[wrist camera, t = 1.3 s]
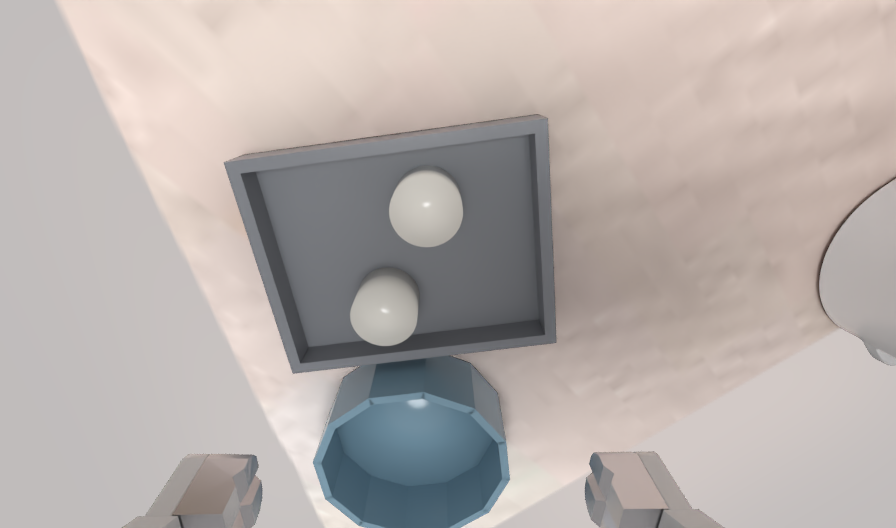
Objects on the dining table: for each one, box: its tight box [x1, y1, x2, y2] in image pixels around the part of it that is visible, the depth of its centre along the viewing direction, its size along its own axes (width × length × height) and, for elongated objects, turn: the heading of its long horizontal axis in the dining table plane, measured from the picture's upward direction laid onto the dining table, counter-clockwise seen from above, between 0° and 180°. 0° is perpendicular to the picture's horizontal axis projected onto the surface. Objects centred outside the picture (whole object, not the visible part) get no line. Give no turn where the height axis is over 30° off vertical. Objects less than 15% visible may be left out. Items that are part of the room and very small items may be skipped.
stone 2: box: [389, 165, 463, 247], centre depth 29 cm, size 5×5×3 cm
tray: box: [224, 114, 556, 374], centre depth 31 cm, size 20×16×3 cm
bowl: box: [313, 356, 510, 528], centre depth 36 cm, size 15×15×6 cm
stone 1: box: [350, 267, 420, 346], centre depth 32 cm, size 5×5×3 cm
